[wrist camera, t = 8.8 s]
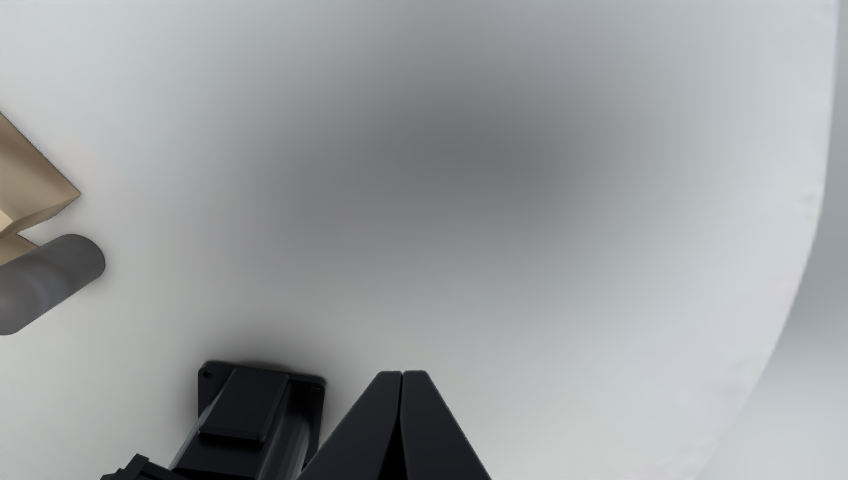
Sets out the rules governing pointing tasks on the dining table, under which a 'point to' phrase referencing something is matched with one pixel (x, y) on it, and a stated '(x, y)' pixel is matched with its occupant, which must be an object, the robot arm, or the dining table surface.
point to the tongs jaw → (28, 184)
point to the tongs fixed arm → (42, 276)
